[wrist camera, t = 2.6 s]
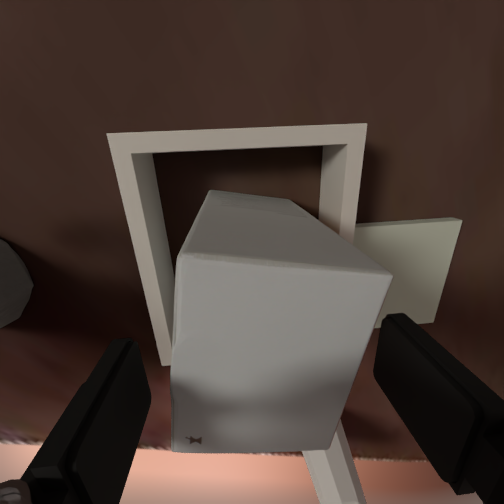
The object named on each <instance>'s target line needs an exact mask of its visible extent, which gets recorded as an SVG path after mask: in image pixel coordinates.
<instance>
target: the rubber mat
mask: <svg viewBox="0 0 504 504" xmlns="http://www.w3.org/2000/svg"><path fill="white" fill-rule="evenodd" d="M461 224H462V220H459V219H456V218H452V217H450V218H435V219H420V220H405V221H390V222H375V223H360V224H355V231H354V240H353V245H354V246H355V247H356V248H358V249H359V250H360V251H362V252H363V253H365V254H366V255H368V256H369V257H370V258H372V259H373V260H375V261H376V262H377V263H379V264H380V265H381V266H383V267H384V268H385V269H387V270H388V271H389V272H391V273H392V274H393V275H394V278H393V280H392V282H391V285H390V287H389V290H388V293H387V295H386V298H385V301H384V303H383V306H382V309H381V311H380V314H379V317H378V319H377V322H376V324H375V327H374V328H381V322H382V319H384V318H385V317H386V315H387V314H394V313H404V314H406V315H407V316H408V317H409V318H411V319H412V320H413V321H414V322H415V323H416V324H423V323H433V322H434V319H435V315H436V312H437V308H438V305H439V301H440V298H441V294H442V291H443V287H444V283H445V280H446V276H447V273H448V269H449V266H450V262H451V259H452V255H453V252H454V248H455V245H456V241H457V238H458V234H459V231H460V227H461Z"/></svg>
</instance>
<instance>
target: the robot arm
mask: <svg viewBox="0 0 504 504" xmlns="http://www.w3.org/2000/svg"><path fill="white" fill-rule="evenodd" d="M373 373H374V377H375V379H376V381H377V383H378V384H379V386H380V387H381V389H382V390H383V392H384V393H385V395H386V396H387V398H388V399H389V401H390V402H391V404H392V405H393V407H394V408H395V410H396V411H397V413H398V414H399V416H400V417H401V419H402V420H403V422H404V423H405V425H406V427H407V428H408V430H409V431H410V433H411V434H412V436H413V437H414V439H415V440H416V442H417V443H418V445H419V446H420V448H421V449H422V451H423V452H424V454H425V455H426V457H427V458H428V460H429V461H430V463H431V464H432V466H433V467H434V469H435V470H436V472H437V473H438V475H439V476H440V477H441V479H442V480H443V481H445V482H447V483H449V484H450V486H451V487H452V489H453V490H454V492H455V493H456V495H462V494H469V493H474V492H475V491H476V493H477V495H478V496H479V497H480V499H481V500H482V501H483V504H504V400H503V399H502V398H500V397H499V396H498V395H497V394H496V393H495V392H494V391H492V390H491V389H490V388H489V387H488V386H487V385H486V384H484V383H483V382H482V381H481V380H480V379H479V378H478V377H477V376H475V375H474V374H473V373H472V372H471V371H470V370H469V369H467V368H466V367H465V366H464V365H463V364H462V363H461V362H459V361H458V360H457V359H456V358H455V357H454V356H453V355H452V354H450V353H449V352H448V351H447V350H446V349H445V348H444V347H442V346H441V345H440V344H439V343H438V342H437V341H436V340H434V339H433V338H432V337H431V336H430V335H429V334H428V333H427V332H425V331H424V330H423V329H422V328H421V327H420V326H419V325H417V324H416V323H415V322H414V321H413V320H412V319H411V318H409V317H408V316H407V315H406V314H404V313H394V314H387V315H386V317H385V318H384V319H382V322H381V328H380V334H379V340H378V346H377V351H376V357H375V363H374V369H373ZM150 404H151V392H150V388H149V384H148V381H147V377H146V373H145V369H144V365H143V361H142V358H141V354H140V350H139V346H138V343H137V342H133V340H132V339H131V338H123V339H114V340H113V341H112V342H111V343H110V345H109V346H108V348H107V349H106V351H105V352H104V354H103V356H102V357H101V359H100V360H99V362H98V363H97V365H96V367H95V368H94V370H93V371H92V373H91V374H90V376H89V377H88V379H87V381H86V382H85V383H83V384H82V386H81V387H80V388H79V389H78V391H77V393H76V394H75V396H74V397H73V399H72V400H71V402H70V403H69V405H68V406H67V408H66V409H65V411H64V412H63V414H62V416H61V417H60V419H59V420H58V422H57V423H56V425H55V426H54V428H53V429H52V431H51V432H50V434H49V436H48V437H47V439H46V440H45V442H44V443H43V445H42V446H41V448H40V449H39V451H38V452H37V454H36V456H35V457H34V459H33V460H32V462H31V463H30V465H29V466H28V468H27V469H26V471H25V473H24V474H23V476H22V477H21V479H17V480H8V481H5V482H2V483H0V504H119V502H120V499H121V496H122V493H123V490H124V487H125V483H126V480H127V477H128V474H129V471H130V468H131V465H132V461H133V458H134V455H135V452H136V449H137V446H138V443H139V439H140V436H141V433H142V430H143V427H144V424H145V421H146V417H147V414H148V411H149V408H150Z"/></svg>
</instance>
